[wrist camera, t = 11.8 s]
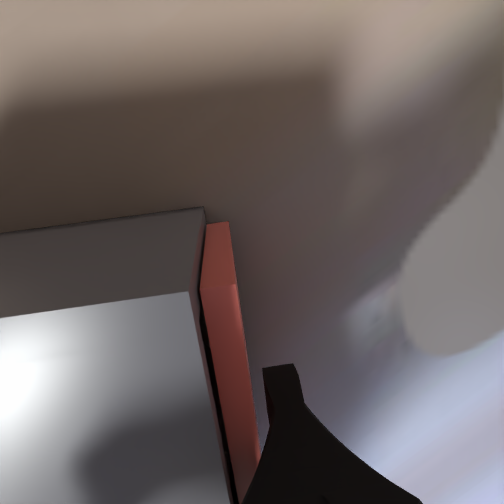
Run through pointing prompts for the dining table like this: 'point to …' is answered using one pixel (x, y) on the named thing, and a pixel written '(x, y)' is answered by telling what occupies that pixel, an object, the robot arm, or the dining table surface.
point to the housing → (107, 365)
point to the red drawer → (229, 355)
